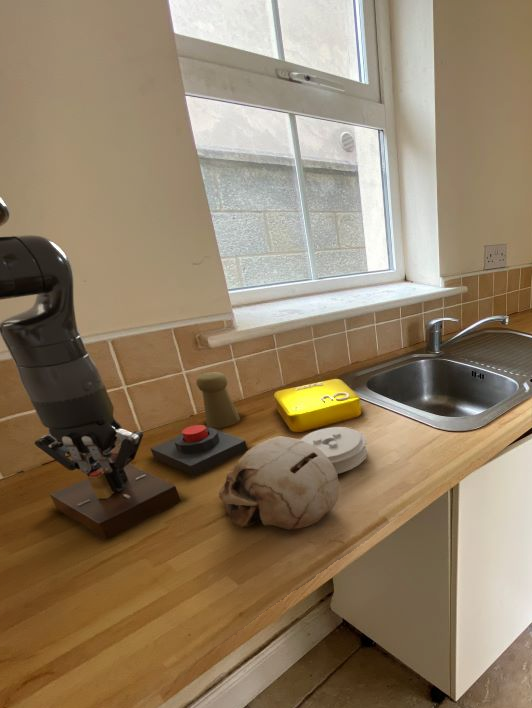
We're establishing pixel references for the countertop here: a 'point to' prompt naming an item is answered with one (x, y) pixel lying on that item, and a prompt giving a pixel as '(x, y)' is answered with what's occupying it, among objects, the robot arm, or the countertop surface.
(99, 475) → the lock knob
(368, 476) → the countertop surface
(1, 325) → the robot arm
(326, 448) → the lid
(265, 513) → the coin bank
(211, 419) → the cork
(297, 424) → the element tile
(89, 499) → the plate
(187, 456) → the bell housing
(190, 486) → the countertop surface
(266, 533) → the countertop surface
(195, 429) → the bell button
